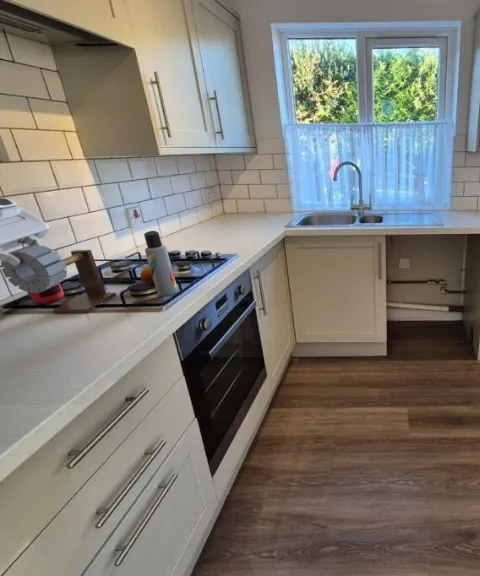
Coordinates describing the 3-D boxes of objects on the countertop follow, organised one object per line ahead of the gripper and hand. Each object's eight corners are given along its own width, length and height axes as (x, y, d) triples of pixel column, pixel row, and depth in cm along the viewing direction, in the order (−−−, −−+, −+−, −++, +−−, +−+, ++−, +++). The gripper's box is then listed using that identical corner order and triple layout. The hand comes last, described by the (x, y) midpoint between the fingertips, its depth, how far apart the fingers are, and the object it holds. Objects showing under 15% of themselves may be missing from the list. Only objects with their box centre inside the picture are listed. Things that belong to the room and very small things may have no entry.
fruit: (162, 283, 120) (145, 263, 118) (147, 293, 123) (131, 274, 121) (178, 274, 127) (163, 255, 125) (164, 284, 130) (149, 266, 128)
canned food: (42, 296, 116) (28, 264, 112) (70, 293, 117) (57, 261, 113) (25, 306, 109) (10, 272, 105) (55, 303, 110) (41, 270, 106)
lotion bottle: (179, 288, 119) (163, 228, 112) (176, 294, 115) (159, 233, 107) (159, 291, 118) (142, 230, 110) (156, 297, 113) (137, 235, 105)
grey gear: (13, 293, 83) (-8, 252, 79) (32, 284, 88) (13, 245, 84) (56, 292, 83) (38, 251, 79) (73, 283, 88) (56, 244, 84)
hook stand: (53, 313, 104) (31, 262, 98) (85, 296, 115) (67, 249, 109) (88, 312, 104) (68, 262, 98) (116, 295, 115) (100, 249, 109)
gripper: (-83, 217, 68) (-7, 265, 72) (17, 196, 86) (73, 235, 91) (-93, 241, 70) (-18, 285, 74) (7, 215, 88) (62, 252, 92)
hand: (33, 257), depth 82 cm, fingers closed on grey gear, 5 cm apart
